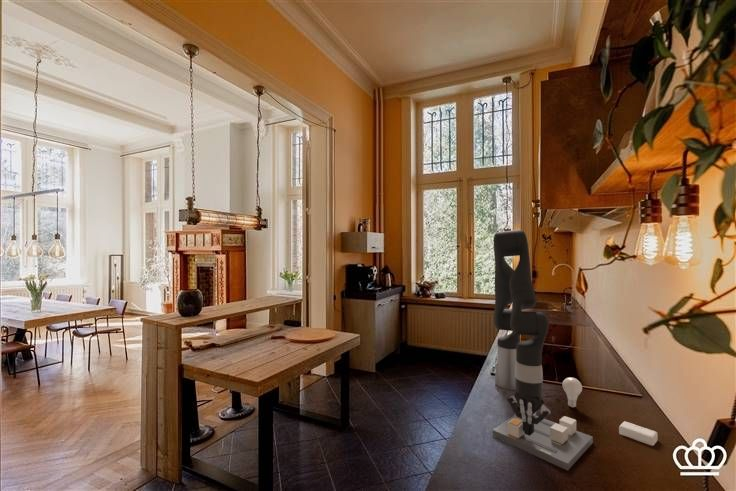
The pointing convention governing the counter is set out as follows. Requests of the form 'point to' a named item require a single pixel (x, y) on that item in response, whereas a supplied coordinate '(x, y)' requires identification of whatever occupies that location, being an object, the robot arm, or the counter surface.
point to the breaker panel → (550, 441)
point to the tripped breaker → (515, 427)
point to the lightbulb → (572, 390)
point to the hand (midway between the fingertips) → (528, 433)
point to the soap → (638, 433)
